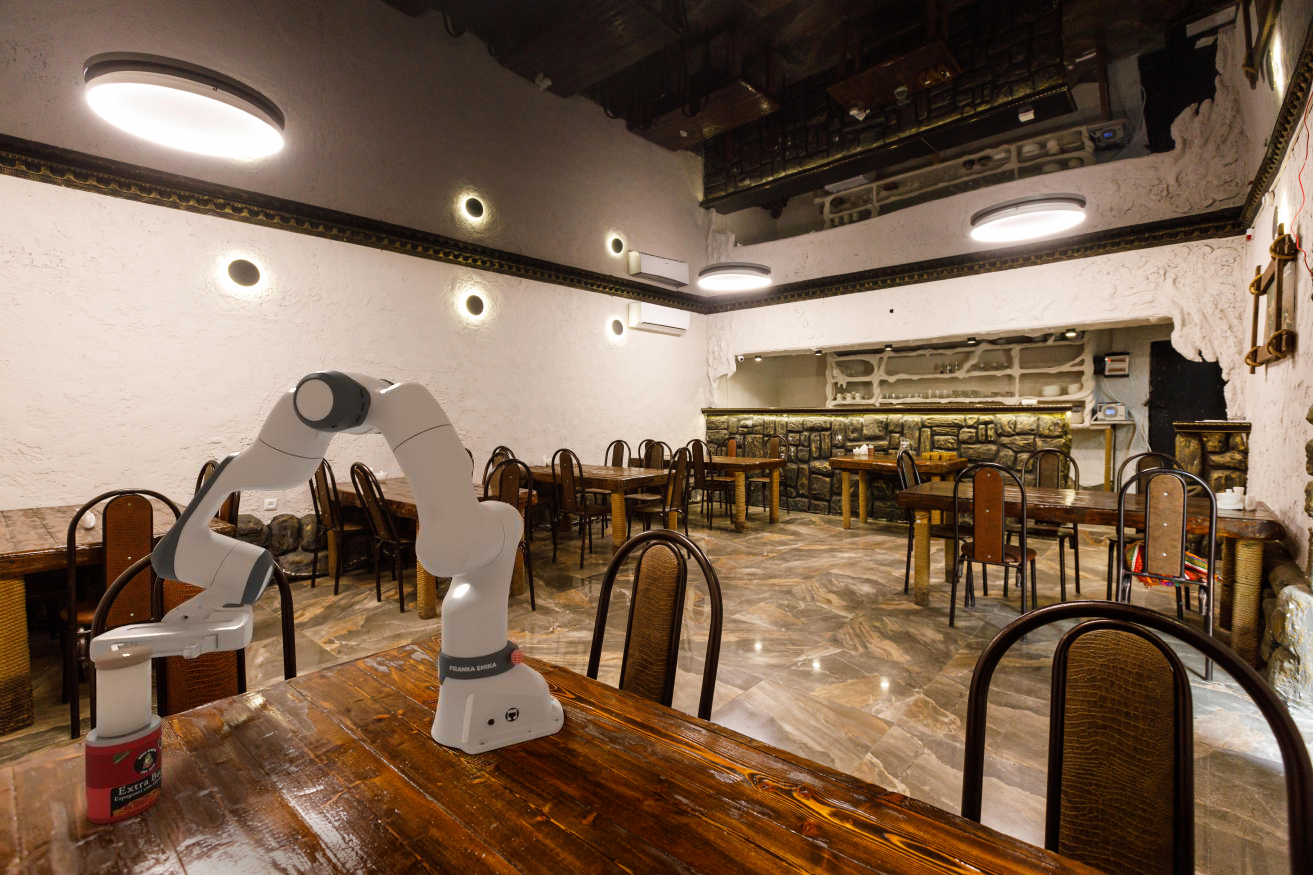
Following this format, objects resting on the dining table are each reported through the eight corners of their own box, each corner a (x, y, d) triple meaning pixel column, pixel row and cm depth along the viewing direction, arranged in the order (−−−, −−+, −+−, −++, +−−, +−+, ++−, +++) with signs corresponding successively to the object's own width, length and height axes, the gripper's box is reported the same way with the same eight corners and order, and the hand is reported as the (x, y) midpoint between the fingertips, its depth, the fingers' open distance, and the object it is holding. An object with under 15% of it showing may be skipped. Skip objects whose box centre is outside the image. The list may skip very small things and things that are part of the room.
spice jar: (161, 713, 82) (161, 644, 82) (138, 733, 77) (138, 659, 76) (111, 719, 80) (111, 648, 80) (84, 740, 75) (84, 664, 75)
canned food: (116, 829, 74) (116, 744, 74) (68, 820, 75) (68, 738, 75) (176, 792, 81) (176, 716, 81) (132, 785, 83) (132, 710, 83)
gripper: (119, 613, 95) (62, 642, 82) (262, 603, 101) (231, 629, 88) (119, 651, 95) (62, 686, 82) (261, 638, 101) (230, 669, 88)
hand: (151, 656), depth 85 cm, fingers open, 8 cm apart
